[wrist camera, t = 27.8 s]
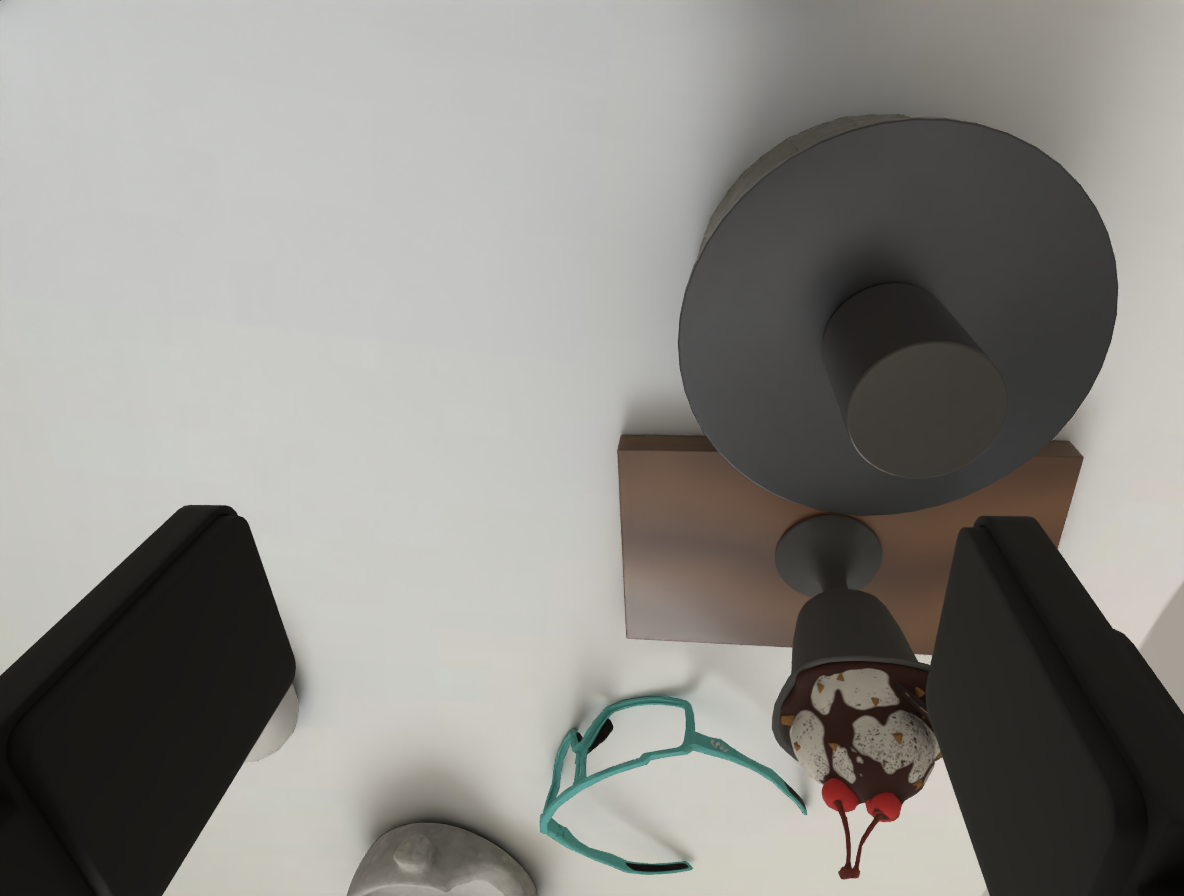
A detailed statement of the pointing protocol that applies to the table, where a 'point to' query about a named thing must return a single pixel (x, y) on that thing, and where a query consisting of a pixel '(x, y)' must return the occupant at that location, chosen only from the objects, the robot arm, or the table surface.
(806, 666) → the sundae
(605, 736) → the sunglasses
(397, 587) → the table surface
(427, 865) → the dish
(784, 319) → the lid
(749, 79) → the table surface
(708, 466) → the board
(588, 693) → the table surface
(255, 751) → the donut
